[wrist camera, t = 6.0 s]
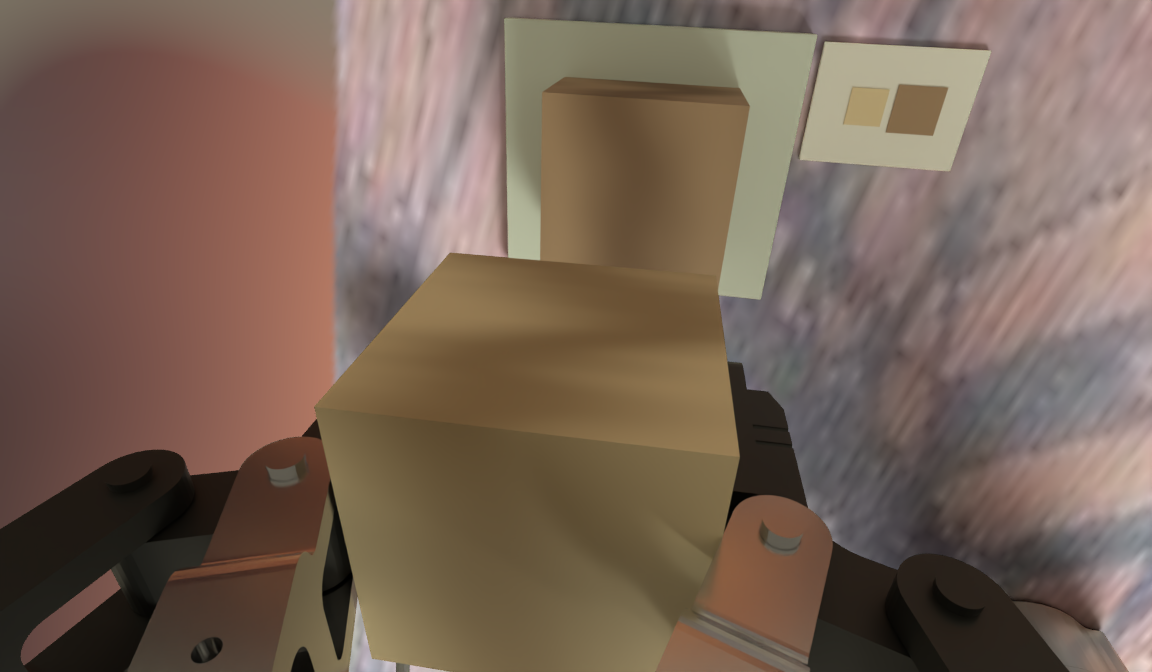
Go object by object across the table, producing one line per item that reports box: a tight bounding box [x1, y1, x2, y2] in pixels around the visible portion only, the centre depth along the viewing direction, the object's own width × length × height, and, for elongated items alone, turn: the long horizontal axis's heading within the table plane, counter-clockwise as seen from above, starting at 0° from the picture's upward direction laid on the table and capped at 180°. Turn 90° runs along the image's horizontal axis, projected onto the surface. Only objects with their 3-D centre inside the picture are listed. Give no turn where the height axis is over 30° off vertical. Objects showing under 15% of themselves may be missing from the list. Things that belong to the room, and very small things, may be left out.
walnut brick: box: [540, 77, 750, 288], centre depth 24 cm, size 7×7×4 cm
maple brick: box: [314, 253, 740, 672], centre depth 10 cm, size 5×5×5 cm
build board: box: [504, 17, 817, 300], centre depth 26 cm, size 12×11×1 cm
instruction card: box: [799, 41, 991, 171], centre depth 24 cm, size 6×4×1 cm
